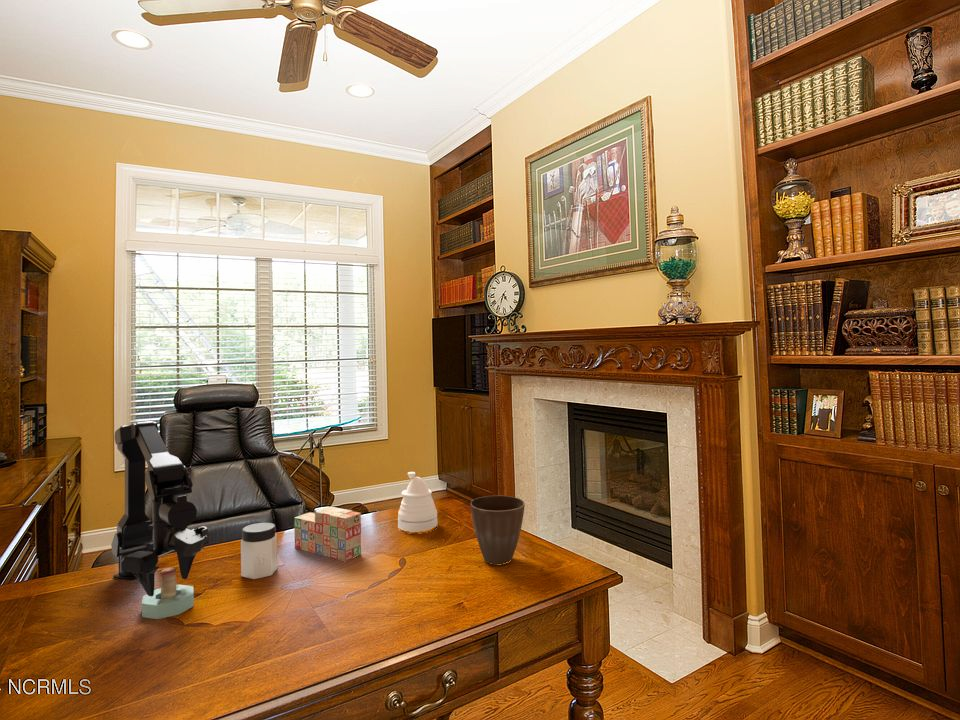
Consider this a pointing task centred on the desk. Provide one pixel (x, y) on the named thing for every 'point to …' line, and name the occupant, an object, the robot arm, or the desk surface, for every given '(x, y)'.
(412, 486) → the honey pot
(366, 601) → the desk surface
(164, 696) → the desk surface
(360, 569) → the desk surface
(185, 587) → the bead
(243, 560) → the jar
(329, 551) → the stack of blocks
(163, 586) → the beige cylindrical peg
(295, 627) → the desk surface
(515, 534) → the plant pot
